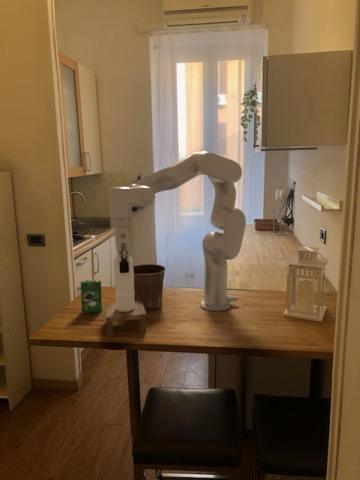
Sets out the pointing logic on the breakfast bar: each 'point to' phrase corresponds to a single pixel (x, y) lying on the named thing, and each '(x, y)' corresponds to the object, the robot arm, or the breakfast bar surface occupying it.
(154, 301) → the plant pot
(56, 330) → the breakfast bar surface
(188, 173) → the robot arm
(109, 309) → the small square stand
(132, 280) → the water bottle
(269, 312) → the breakfast bar surface
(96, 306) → the coffee box
